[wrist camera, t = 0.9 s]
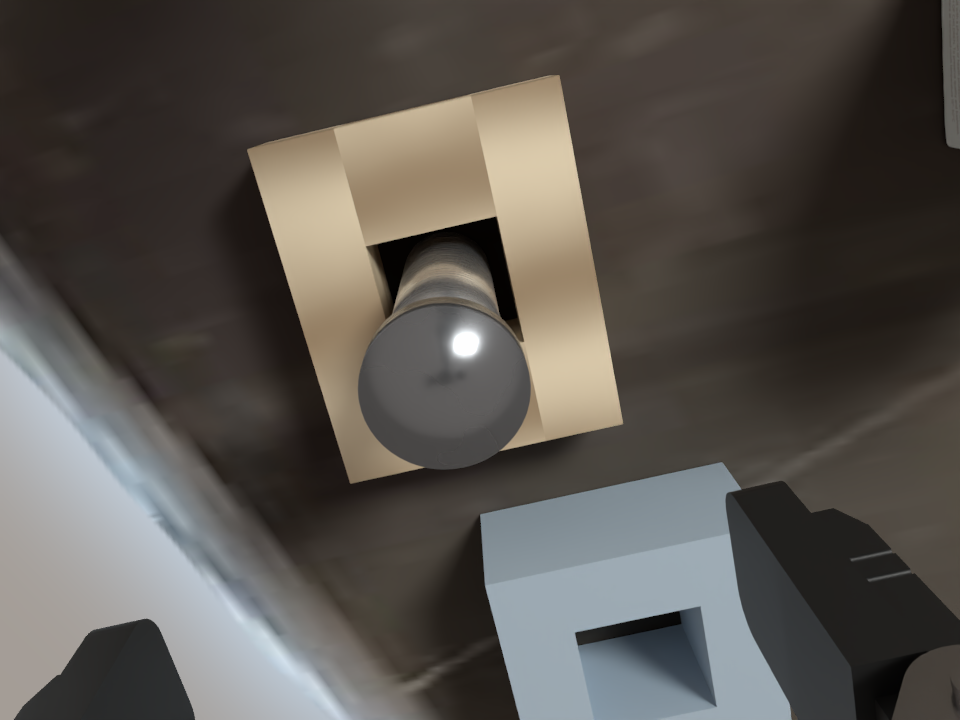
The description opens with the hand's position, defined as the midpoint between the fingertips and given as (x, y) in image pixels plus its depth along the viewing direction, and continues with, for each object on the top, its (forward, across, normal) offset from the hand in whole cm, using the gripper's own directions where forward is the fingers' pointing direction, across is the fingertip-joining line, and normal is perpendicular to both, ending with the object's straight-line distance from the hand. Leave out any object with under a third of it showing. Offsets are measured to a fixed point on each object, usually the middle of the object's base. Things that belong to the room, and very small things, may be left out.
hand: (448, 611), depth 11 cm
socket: (+20, -4, +15) cm, 25 cm away
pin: (+20, 0, 0) cm, 20 cm away
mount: (+20, 0, 0) cm, 20 cm away
